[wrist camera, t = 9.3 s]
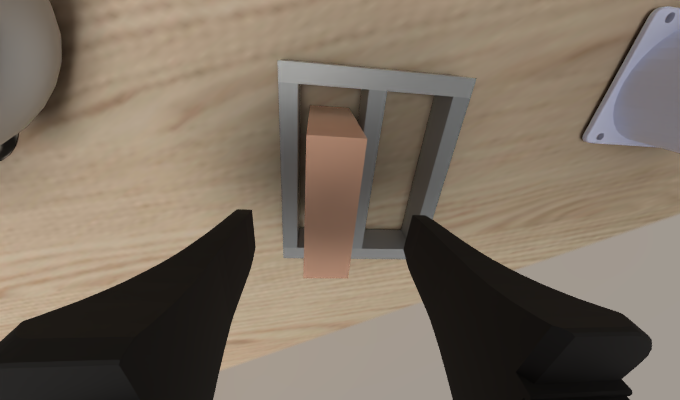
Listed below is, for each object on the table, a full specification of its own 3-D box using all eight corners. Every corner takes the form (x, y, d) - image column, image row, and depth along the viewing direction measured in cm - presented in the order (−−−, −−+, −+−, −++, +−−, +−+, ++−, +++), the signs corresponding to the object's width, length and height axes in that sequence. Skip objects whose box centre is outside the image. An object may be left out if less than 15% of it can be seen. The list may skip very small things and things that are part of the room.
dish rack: (454, 75, 16) (476, 78, 14) (409, 239, 22) (419, 259, 20) (283, 59, 15) (277, 60, 13) (287, 237, 21) (283, 257, 19)
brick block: (348, 108, 17) (367, 138, 11) (338, 212, 21) (348, 278, 14) (310, 105, 16) (306, 134, 10) (307, 211, 20) (303, 278, 14)
